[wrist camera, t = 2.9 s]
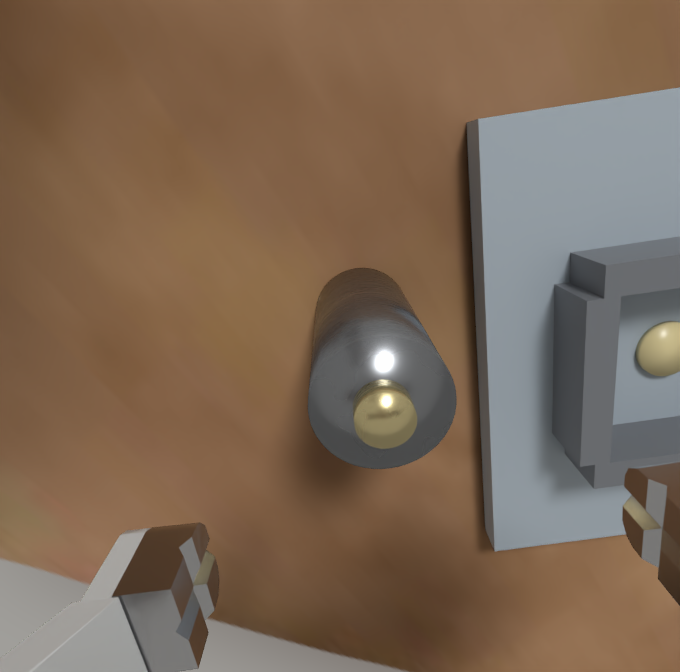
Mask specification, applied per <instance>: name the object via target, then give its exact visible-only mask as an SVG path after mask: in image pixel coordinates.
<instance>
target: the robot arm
mask: <svg viewBox="0 0 680 672" xmlns="http://www.w3.org/2000/svg"><path fill="white" fill-rule="evenodd" d="M624 487H625V488H626V489H627V490H628V491H629V493H630V494H631V496H630V497H629V499H628V500H627V501H626V502H625V504H624V505H623V513H622V521H623V525H624V528H625V532H626V535H627V537H628V539H629V541H630V543H631V545H632V547H633V548H634V549H635V551H636V552H637V553H638V555H639V556H640V557H641V558H642V559H643V560H645V561H647V562H649V563H651V564H653V565H655V566H656V567H658V580H659V581H660V582H661V583H662V585H663V586H664V587H665V588H666V590H667V591H668V592H669V593H670V594H671V596H672V597H673V598H674V599H675V601H676V602H677V603H678V604H679V606H680V461H677V462H670V463H662V464H655V465H647V466H640V467H632V468H628V470H627V472H626V474H625V480H624ZM209 539H210V538H209V535H208V533H207V530H206V527H205V525H204V524H202V523H191V524H181V525H172V526H162V527H153V528H146V529H137V530H128V531H126V532H124V533H123V534H121V535H120V536H119V538H118V539H117V541H116V543H115V544H114V546H113V548H112V549H111V551H110V553H109V554H108V556H107V558H106V559H105V561H104V563H103V564H102V566H101V568H100V569H99V571H98V572H97V574H96V576H95V577H94V579H93V581H92V582H91V584H90V586H89V587H88V589H87V591H86V593H85V594H84V596H83V597H82V599H81V601H80V602H74V603H71V604H69V605H68V606H67V607H66V608H64V609H63V610H62V611H60V612H59V613H58V614H57V615H55V616H54V617H53V618H51V619H50V620H49V621H48V622H47V623H45V624H44V625H42V627H40V628H39V629H37V630H36V631H35V632H33V633H32V634H31V635H30V636H28V637H27V638H26V639H24V640H23V641H22V642H21V643H19V644H18V645H17V646H15V647H14V648H13V649H12V650H10V651H9V652H8V653H6V654H5V655H4V656H3V657H1V658H0V672H178V671H185V670H192V669H198V668H199V664H200V661H201V657H202V654H203V650H204V646H205V643H206V639H207V636H208V629H207V626H206V623H205V620H206V619H207V618H208V617H209V616H210V614H211V613H212V612H213V611H214V610H215V607H216V603H217V599H218V591H219V572H218V566H217V562H216V559H215V556H213V555H212V554H211V553H209V552H208V551H207V550H206V548H207V545H208V542H209Z"/></svg>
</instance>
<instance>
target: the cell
mask: <svg viewBox="0 0 680 672" xmlns="http://www.w3.org/2000/svg"><path fill="white" fill-rule="evenodd" d="M455 410H456V390H455V385H454V382H453V379H452V377H451V374H450V372H449V370H448V369H447V367H446V365H445V364H444V362H443V360H442V358H441V357H440V355H439V353H438V352H437V350H436V348H435V347H434V345H433V343H432V341H431V340H430V338H429V336H428V335H427V333H426V331H425V330H424V328H423V326H422V324H421V323H420V321H419V319H418V318H417V316H416V314H415V313H414V311H413V309H412V307H411V306H410V304H409V302H408V301H407V299H406V297H405V296H404V294H403V292H402V290H401V289H400V287H399V286H398V285H397V283H396V282H395V281H394V280H393V279H392V278H390V277H389V276H388V275H386V274H384V273H382V272H380V271H377V270H374V269H369V268H355V269H351V270H347V271H344V272H342V273H340V274H338V275H337V276H335V277H334V278H333V279H331V280H330V281H329V282H328V283H327V284H326V286H325V287H324V288H323V290H322V292H321V294H320V296H319V298H318V302H317V307H316V317H315V328H314V339H313V350H312V362H311V373H310V384H309V396H308V413H309V419H310V423H311V426H312V428H313V430H314V433H315V434H316V436H317V438H318V439H319V441H320V442H321V443H322V444H323V445H324V447H325V448H326V449H328V450H329V451H330V452H331V453H332V454H334V455H335V456H336V457H338V458H340V459H342V460H343V461H345V462H348V463H350V464H353V465H356V466H360V467H364V468H371V469H385V468H393V467H399V466H402V465H405V464H408V463H411V462H413V461H415V460H417V459H419V458H421V457H423V456H424V455H426V454H427V453H428V452H430V451H431V450H432V449H433V448H434V447H435V446H437V445H438V444H439V442H440V441H441V440H442V439H443V438H444V436H445V435H446V433H447V431H448V430H449V428H450V426H451V424H452V421H453V418H454V415H455Z"/></svg>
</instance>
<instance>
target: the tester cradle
mask: <svg viewBox="0 0 680 672" xmlns="http://www.w3.org/2000/svg"><path fill="white" fill-rule="evenodd" d="M467 144H468V166H469V187H470V209H471V231H472V253H473V274H474V296H475V318H476V340H477V361H478V383H479V405H480V427H481V448H482V470H483V492H484V514H485V530H486V532H487V535H488V537H489V539H490V542H491V544H492V546H493V548H494V551H500V550H508V549H516V548H523V547H531V546H539V545H546V544H554V543H562V542H569V541H577V540H585V539H593V538H600V537H608V536H616V535H623V534H626V532H625V528H624V525H623V521H622V513H623V505H624V504H625V502H626V501H627V500H628V499H629V497H630V496H631V494H630V493H629V491H628V490H627V489H626V488H625V487H624V480H625V474H626V472H627V470H628V468H632V467H640V466H647V465H655V464H662V463H670V462H677V461H680V88H674V89H667V90H661V91H654V92H648V93H642V94H635V95H629V96H623V97H616V98H610V99H603V100H597V101H591V102H584V103H578V104H571V105H565V106H559V107H552V108H546V109H540V110H533V111H527V112H520V113H514V114H508V115H501V116H495V117H488V118H482V119H477V120H474V121H471V122H468V123H467Z"/></svg>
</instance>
